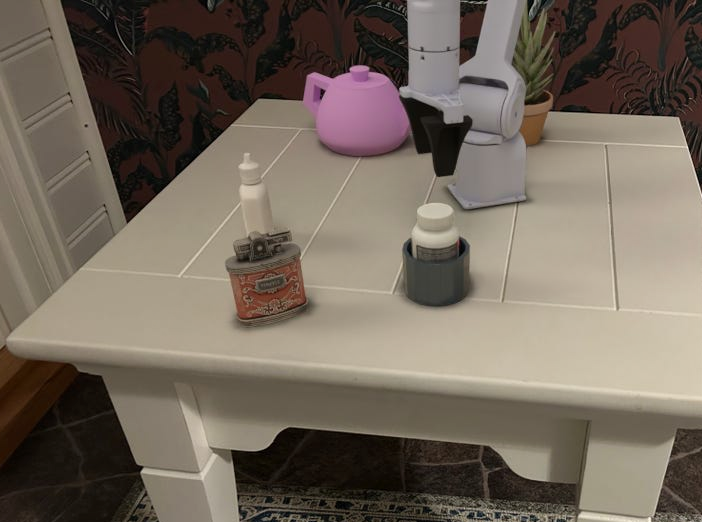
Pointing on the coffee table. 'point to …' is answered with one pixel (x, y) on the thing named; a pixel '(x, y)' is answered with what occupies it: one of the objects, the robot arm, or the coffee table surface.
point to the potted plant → (533, 77)
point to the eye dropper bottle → (254, 198)
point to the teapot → (357, 112)
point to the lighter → (266, 278)
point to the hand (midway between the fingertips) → (434, 163)
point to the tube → (436, 277)
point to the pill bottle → (435, 234)
